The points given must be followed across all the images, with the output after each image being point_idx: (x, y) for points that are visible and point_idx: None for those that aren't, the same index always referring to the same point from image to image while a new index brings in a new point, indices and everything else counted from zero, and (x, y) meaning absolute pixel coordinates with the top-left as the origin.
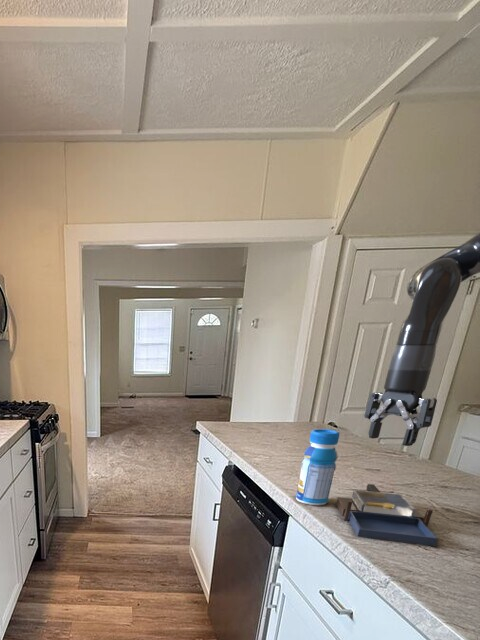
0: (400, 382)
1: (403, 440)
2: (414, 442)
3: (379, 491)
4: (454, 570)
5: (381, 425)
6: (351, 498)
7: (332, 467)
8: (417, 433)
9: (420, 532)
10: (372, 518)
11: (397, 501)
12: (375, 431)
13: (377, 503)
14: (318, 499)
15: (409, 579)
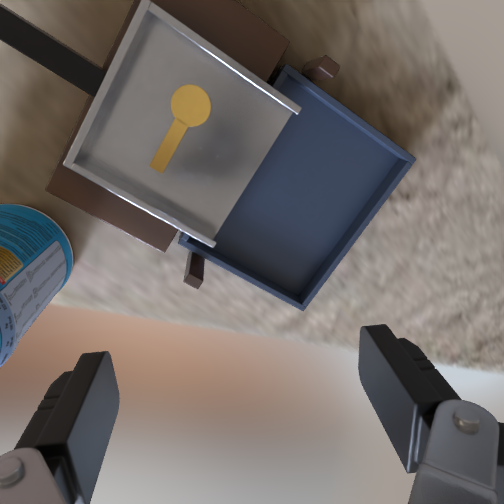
0: None
1: (369, 399)
2: (411, 346)
3: (94, 67)
4: (496, 227)
5: (75, 419)
6: (65, 149)
7: (6, 307)
8: (449, 390)
9: (337, 122)
10: None
11: (151, 17)
12: (102, 420)
13: (171, 138)
14: (66, 273)
15: (477, 340)
